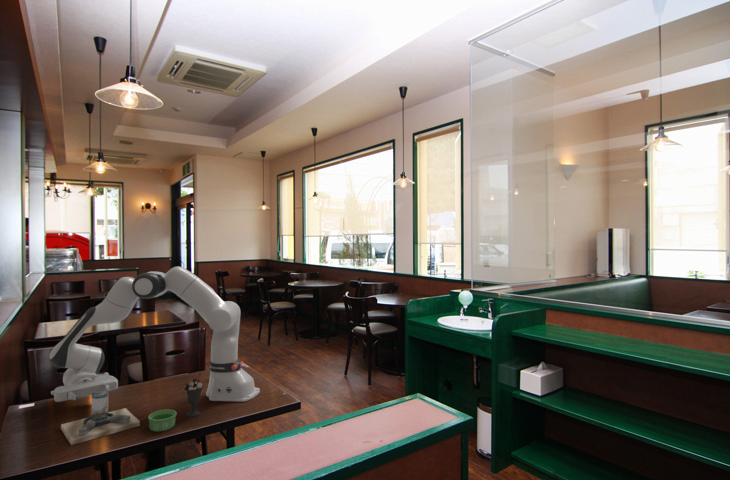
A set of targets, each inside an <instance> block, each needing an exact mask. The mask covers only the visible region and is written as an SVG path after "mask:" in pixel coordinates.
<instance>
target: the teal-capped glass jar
mask: <svg viewBox="0 0 730 480" xmlns="http://www.w3.org/2000/svg"><path fill="white" fill-rule="evenodd" d="M109 394H110V391H108V390H100V391H96V392H93V393H92V394H91V395H90V397H91V402H90V403H91V404H90V405H91V407H90V409H91V410H90V416H91V421H95V423H99V422H103V421H107V420H108V412H109Z"/></svg>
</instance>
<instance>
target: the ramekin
mask: <svg viewBox="0 0 730 480" xmlns="http://www.w3.org/2000/svg"><path fill="white" fill-rule="evenodd" d="M176 416H177V410H174V409H171V408H169V409H168V408H167V409H166V408H165V409H160V410H156V411H153V412H152V413H150V414H149V415H148V417H147V418H148V425H149V430H150V431H151V432H164V431H168V430H170V429H172V428H173V427H175V425H176Z"/></svg>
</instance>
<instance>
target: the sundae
mask: <svg viewBox="0 0 730 480" xmlns="http://www.w3.org/2000/svg"><path fill="white" fill-rule="evenodd" d="M201 374H202V373H199V375H197V376H196V377H193V379H192V380H190V381H189V383H187V382H185V383H184V384H185V385H186V386H185V388H184V389H183V390H184V391H186V395H187V402H188V404H190V405H191V410H190V411H189V412H187V413H186V416H187V417H192V418H193V417H196V416H199V415H201V413H202V412H201V411H200V410H197V409H196V408H197V407H196V405H197V404H199V402H200V401H201V400H200V399H201V393H202V390H203V388H205V386H204V385H203V384H202V382H201V380H200V375H201ZM197 378H198V379H197Z"/></svg>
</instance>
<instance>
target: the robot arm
mask: <svg viewBox="0 0 730 480" xmlns="http://www.w3.org/2000/svg"><path fill="white" fill-rule="evenodd" d="M168 292H171V293H173V294H175V295H176V296H177V297H178V298H180V299H181V300H182V301H184V303H186V304H188V305H189V307H191V308H192V309H194V310H195V311H196V312H197V313H198V314H199V316H200V317H201V319H203V320H204V321H205V323H207V324H208V326H209V328H210V329H211V330H213V331H212V338H211V342H210V360H209V369H208V370H209V380H208V386H207V389H206V392H205V396H206V397H207V398H208V400H209V401H212V402H248V401H250V400H252V399H254V398H255V397H257V396H258V395H259V394H260V393H261V390H260V388H259V387H256V386H255V380H254V377H253V376H251V375H250V374H249V373H248V372H247V371H245V369H243V368H242V366H241V365H243V364H244V361H240V360H239V358H238V353H239V352H238V351H239V350H238V349H239V345H238V344H239V334H240V325H241V314H242V313H241V308H240V306H239V305H238V303H236V302H234V301H230V300H227V301H225V300H223V299H222V298H221V297H220V296H219V295H218V294H217V293H216V292H215V290H214V288H213V287H211V286H210V285H209V284H207V283H206V282H205V281H203V280H202V279H201V278H200V277H198V276H197V275H196V274H194V273H193V272H192V271H190V270H188V269H186V268H184V267H183V266H178V265H177V266H174V267H172V268H170V269H169V270H168V271H167V272H165V271H161V270H160V271H159V270H157V271H153V270H152V271H148V272H144V273H140V274H138V275H137V276H136V277H135V278H134V277H131V276H124V277H123V276H122V277H120V278H118V280H117V281H116V282H115V283H114V285H113V286H112V287H111V288H110V290H109V292H108V293H107V295H106V296H105V298H104V299H103V300H102V302H100V303H99V304H97V305H96V306H92V307H89V308H88V309H87V310H86V311H85V312H84V313H83V314H82V315H81V316H80V318H79V319H78V320H77V321H76V322H75V323H74V325H73V326H72V327H71V328H70V329H69V330H68V332H66V334H65V335H64V337H62V339H60V341H58V343H57V344H55V345H54V347H53V348H52V349H51V351H50V353H49V356H48V361H49V362H50V364H51V365H52V366H53V367H54V368H62V369H66V371H64V373H63V376H62V383H63V385H60V386H58V387H55V389H54V390H51V391H50V394H51V396H53V397H54V398H53V399H54V402H55V403H60V402H64V401H70V400H71V401H72V400H73V401H78V400H80V398H85V397H88V396H91V394H92V393H93V392H96V391H100V390H108V391H109V392H111V391H115V390H117V389H118V387H119V380H118V379H117V378H116V377H115V376H113V375H110V374H109V372H100V371H101V369H102V368H103V365H104V363H105V357H106V356H105V354H104V351H103V349H102V348H101V347H96V346H91V345H86V344H85V345H84V344H80V343H77V342H78V340H80V338H81V337H82V336H83V334H84V333H85V332H86V331H87V330H88V329H89V328H91V327H93V326H97V325H104V324H105V325H106V324H115V323H119V322H122V321H123V320H125V319H126V318H127V317H128V316H129V315H130V314H131V312H132V311H133V308H134V306H135V305H136V303H137V301H138V300H139V299H144V300H145V299H147V300H148V299H153V298H158V297H160V296H163V295H165V294H166V293H168Z"/></svg>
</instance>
